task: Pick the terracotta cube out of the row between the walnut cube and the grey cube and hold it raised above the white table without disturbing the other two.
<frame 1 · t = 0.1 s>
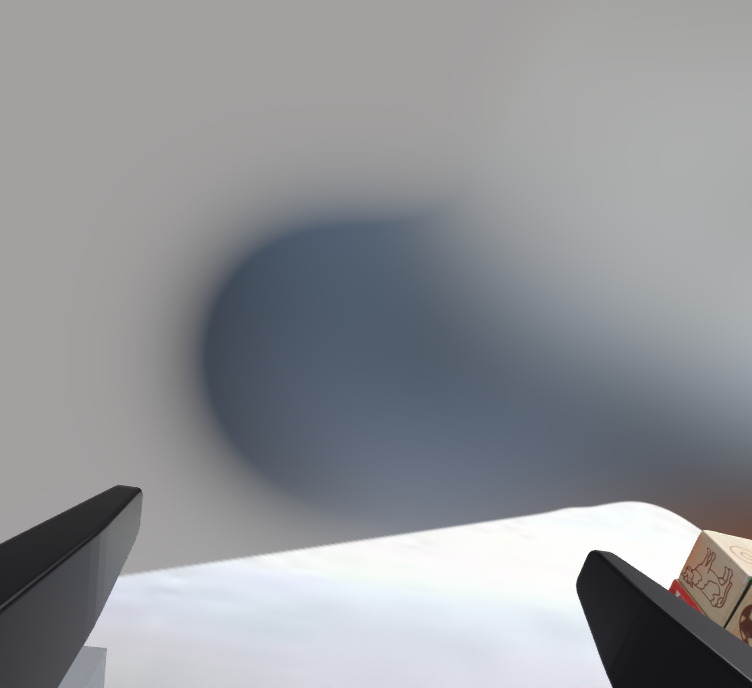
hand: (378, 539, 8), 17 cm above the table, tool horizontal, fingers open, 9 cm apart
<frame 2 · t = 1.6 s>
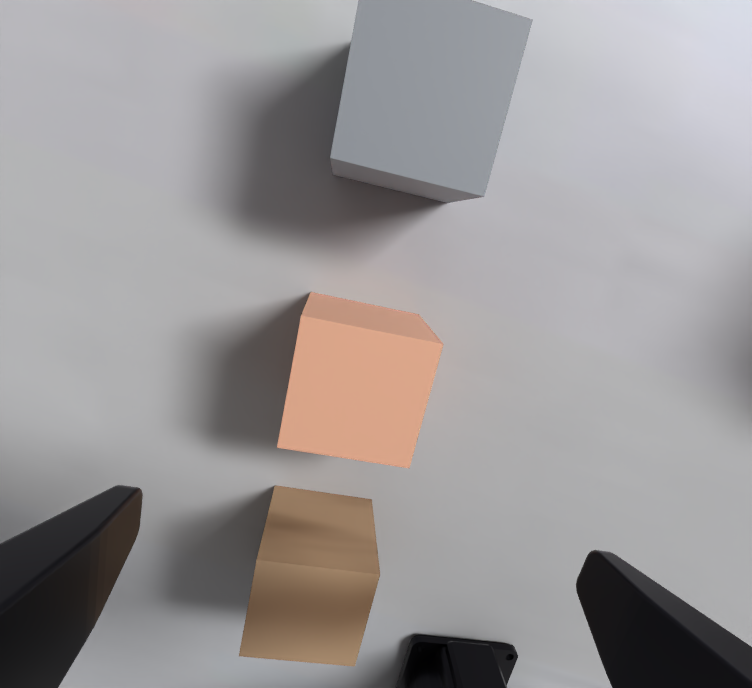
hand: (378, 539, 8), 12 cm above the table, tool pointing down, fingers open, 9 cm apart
walnut cube: (315, 532, 23), on the table
terracotta cube: (354, 354, 20), on the table
grey cube: (404, 126, 18), on the table
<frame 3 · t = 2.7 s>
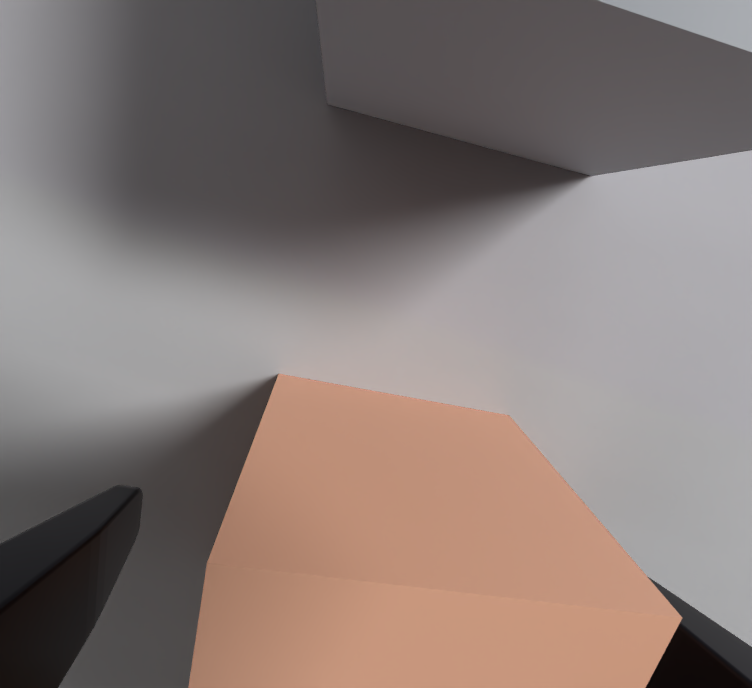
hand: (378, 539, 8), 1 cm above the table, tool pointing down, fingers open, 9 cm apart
terracotta cube: (371, 494, 10), on the table
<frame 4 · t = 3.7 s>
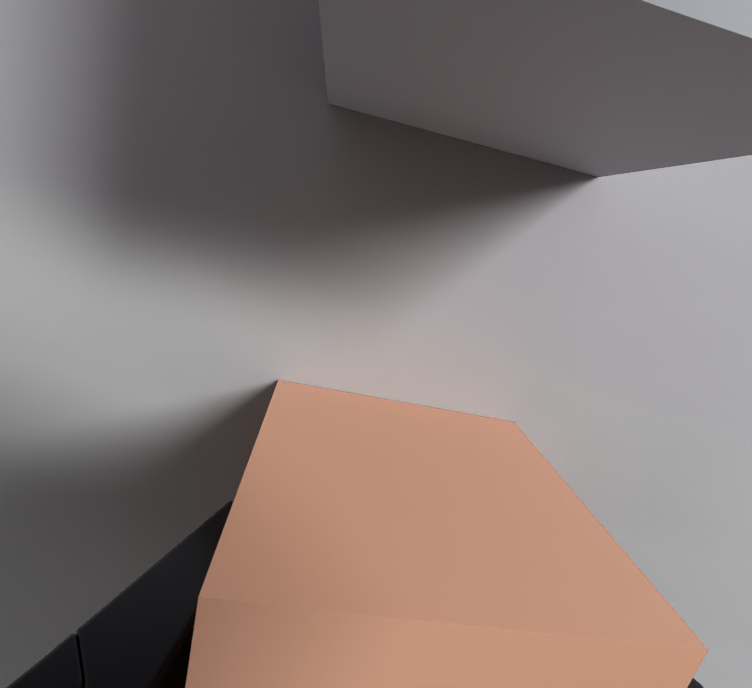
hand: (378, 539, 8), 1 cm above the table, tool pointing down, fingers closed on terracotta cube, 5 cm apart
terracotta cube: (374, 504, 9), on the table, touching gripper
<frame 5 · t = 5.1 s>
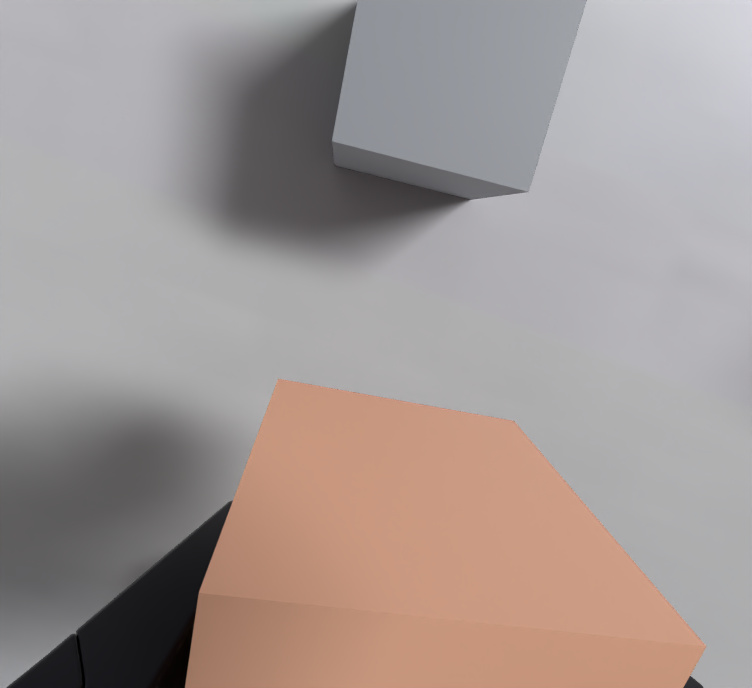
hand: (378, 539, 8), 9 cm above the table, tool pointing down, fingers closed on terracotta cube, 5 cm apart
terracotta cube: (373, 503, 9), point 8 cm above the table, touching gripper
grey cube: (421, 106, 15), on the table
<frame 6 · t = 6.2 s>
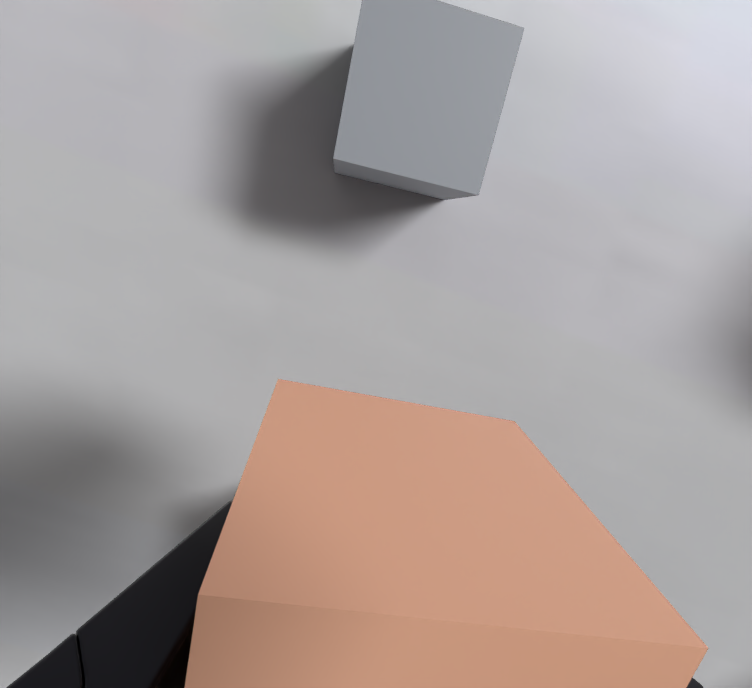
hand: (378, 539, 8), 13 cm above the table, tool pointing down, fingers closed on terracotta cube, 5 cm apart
terracotta cube: (373, 504, 9), point 12 cm above the table, touching gripper
grey cube: (403, 126, 18), on the table
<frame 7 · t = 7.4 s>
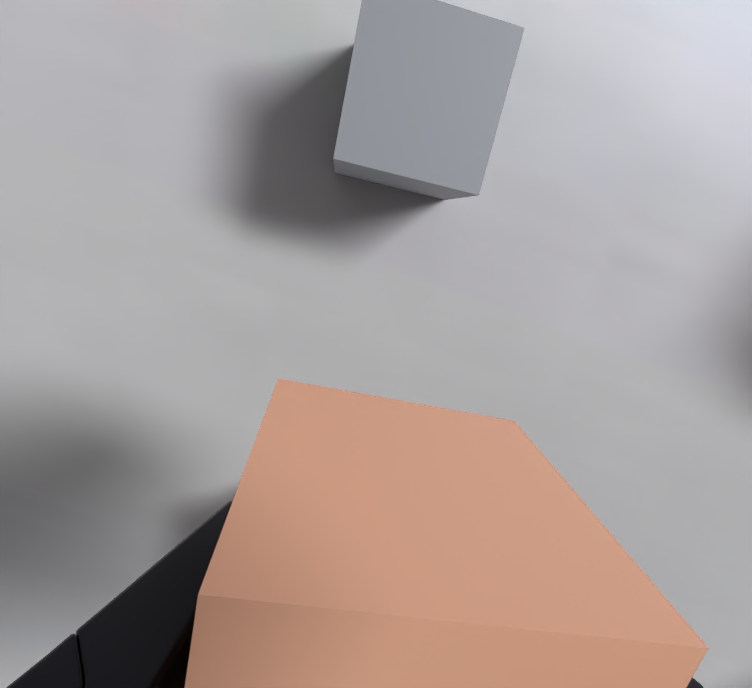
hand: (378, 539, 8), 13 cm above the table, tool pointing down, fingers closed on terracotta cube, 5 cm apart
terracotta cube: (373, 504, 9), point 12 cm above the table, touching gripper
grey cube: (403, 126, 18), on the table
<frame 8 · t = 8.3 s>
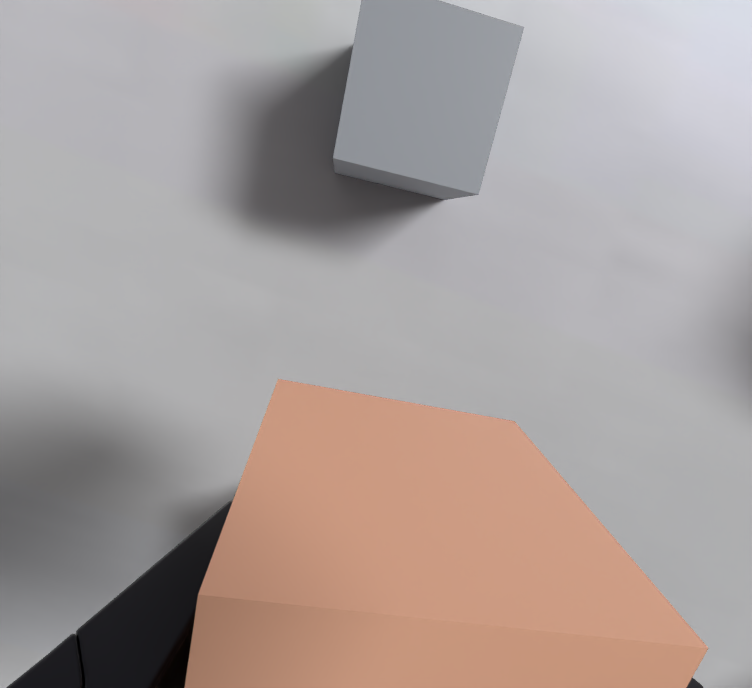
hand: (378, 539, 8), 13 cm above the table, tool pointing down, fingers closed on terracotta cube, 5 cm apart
terracotta cube: (373, 504, 9), point 12 cm above the table, touching gripper
grey cube: (403, 126, 18), on the table
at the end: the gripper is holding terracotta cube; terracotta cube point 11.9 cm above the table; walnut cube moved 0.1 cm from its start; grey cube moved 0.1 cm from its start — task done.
